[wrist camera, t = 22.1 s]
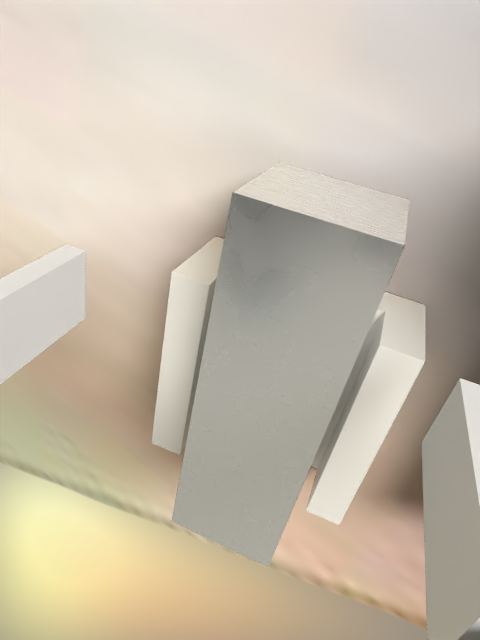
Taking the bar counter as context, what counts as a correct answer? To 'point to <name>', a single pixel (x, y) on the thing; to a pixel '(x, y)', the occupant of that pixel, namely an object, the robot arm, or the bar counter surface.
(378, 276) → the grey long rectangular block
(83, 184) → the bar counter surface
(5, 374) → the robot arm
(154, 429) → the cradle
